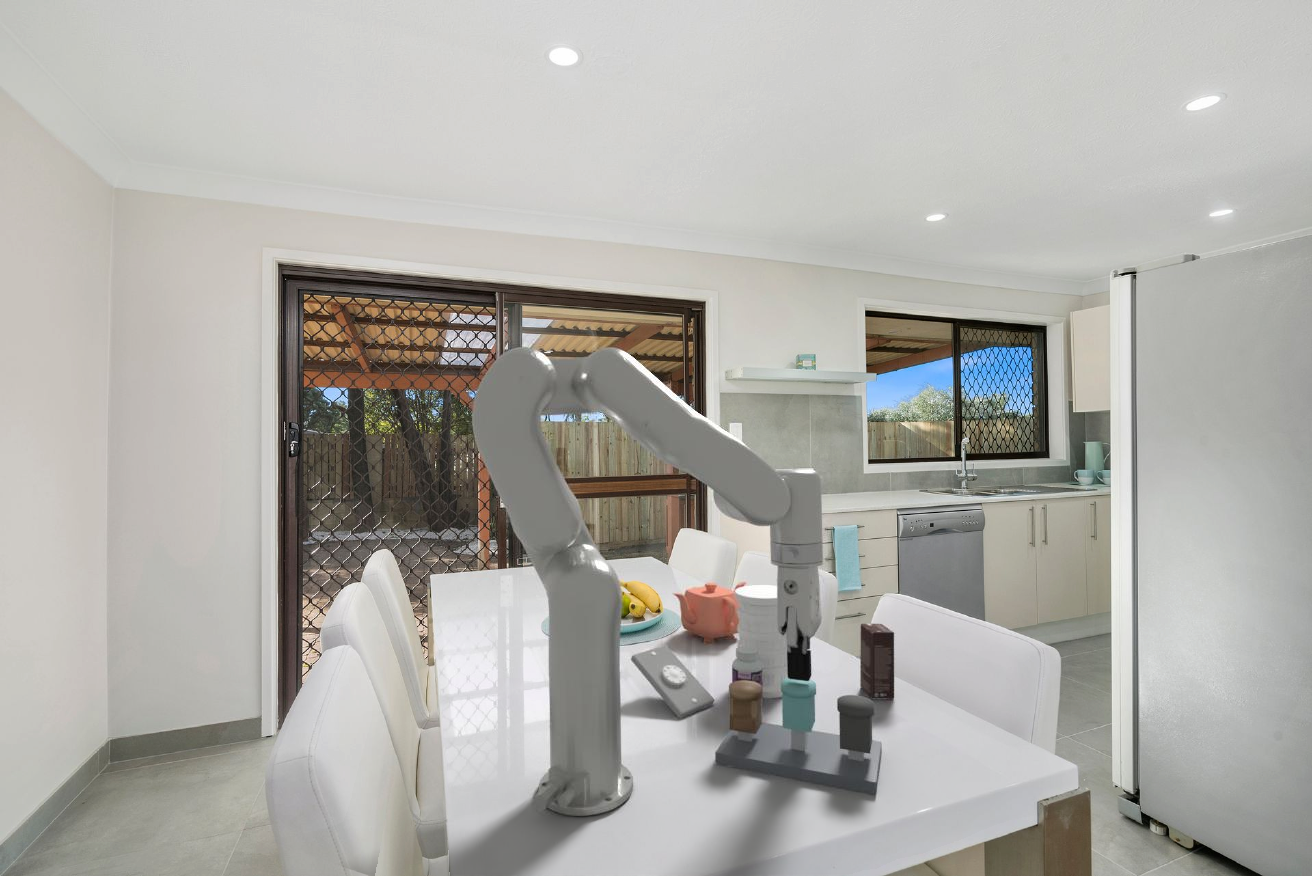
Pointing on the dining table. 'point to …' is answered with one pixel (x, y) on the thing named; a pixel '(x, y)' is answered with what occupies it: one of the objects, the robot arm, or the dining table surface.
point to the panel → (802, 757)
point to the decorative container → (763, 634)
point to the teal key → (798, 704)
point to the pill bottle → (747, 666)
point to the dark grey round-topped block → (855, 723)
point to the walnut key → (745, 706)
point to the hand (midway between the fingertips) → (799, 677)
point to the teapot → (710, 611)
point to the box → (877, 661)
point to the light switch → (672, 681)
